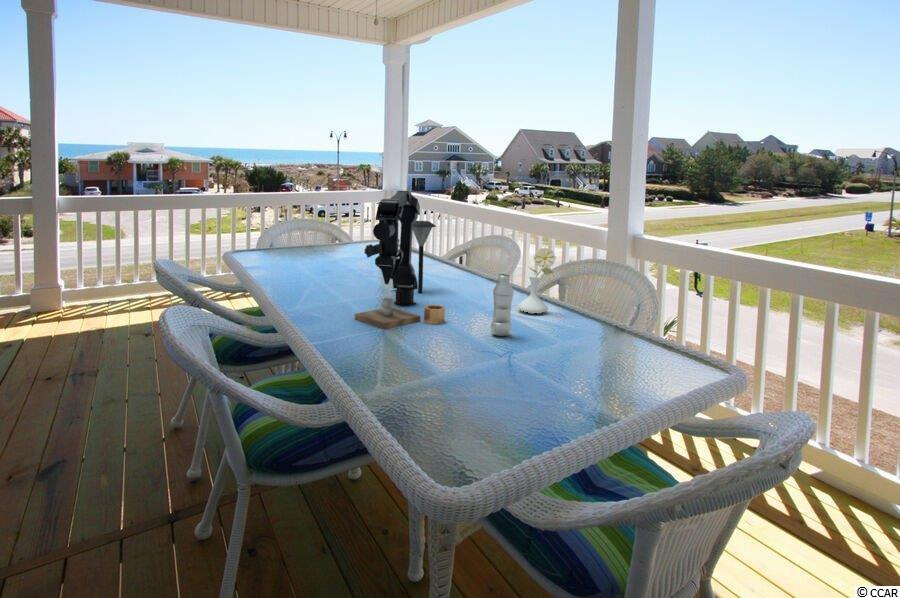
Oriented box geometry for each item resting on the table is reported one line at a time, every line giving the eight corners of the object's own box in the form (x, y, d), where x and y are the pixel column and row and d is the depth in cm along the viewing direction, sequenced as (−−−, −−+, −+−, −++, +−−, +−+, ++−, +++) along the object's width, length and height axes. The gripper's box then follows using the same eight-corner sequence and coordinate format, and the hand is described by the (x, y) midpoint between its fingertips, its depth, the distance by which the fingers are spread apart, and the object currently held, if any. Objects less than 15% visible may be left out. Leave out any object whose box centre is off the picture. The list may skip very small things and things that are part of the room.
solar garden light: (402, 294, 250) (403, 222, 243) (409, 289, 262) (410, 219, 255) (431, 297, 248) (433, 223, 241) (437, 290, 260) (439, 220, 253)
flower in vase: (513, 313, 225) (517, 247, 220) (522, 307, 236) (526, 243, 230) (548, 318, 221) (553, 250, 215) (555, 311, 231) (560, 246, 225)
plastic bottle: (488, 332, 199) (491, 272, 195) (509, 332, 200) (512, 273, 195) (491, 338, 193) (494, 276, 188) (512, 338, 193) (516, 277, 189)
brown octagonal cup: (434, 317, 215) (435, 304, 214) (448, 321, 211) (449, 307, 210) (420, 320, 211) (420, 306, 209) (433, 325, 206) (434, 310, 205)
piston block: (390, 312, 221) (390, 292, 219) (420, 321, 210) (420, 300, 208) (354, 319, 210) (354, 298, 208) (384, 329, 199) (384, 307, 197)
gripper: (373, 232, 216) (372, 275, 220) (359, 239, 198) (359, 285, 202) (403, 233, 215) (403, 276, 219) (393, 240, 197) (392, 287, 200)
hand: (389, 281), depth 210 cm, fingers open, 9 cm apart
